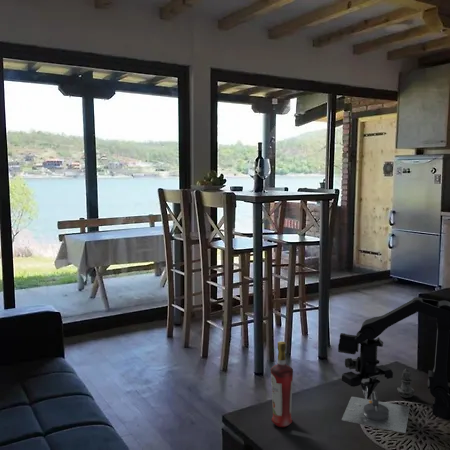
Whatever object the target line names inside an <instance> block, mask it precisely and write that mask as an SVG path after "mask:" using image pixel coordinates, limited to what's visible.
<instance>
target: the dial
mask: <svg viewBox="0 0 450 450" xmlns="http://www.w3.org/2000/svg"><path fill="white" fill-rule="evenodd" d="M370 400H371V402H372V403H370V404H366V405H365V406H364V415H365V416H366V417H367V418H369V419H371V420H375V421H383V420H386V419H388V417H389V410H388V408H387V407H385V406H383V405H381V404H378V401H379V398H378V393H377V390H373V392H372V393H371V395H370Z"/></svg>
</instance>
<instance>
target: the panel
mask: <svg viewBox="0 0 450 450" xmlns="http://www.w3.org/2000/svg"><path fill="white" fill-rule="evenodd" d="M370 403H372V402H371V399H369V398H368V399H366V398H362V397H357V396H351V397H350V399H349V401H348V404H347V406H346V408H345V411H344V413H343V415H342V418H341V421H343V422H349V423H354V424H359V425H364V426H369V427H372V428H373V427H374V428H379V429H383V430H388V431H392V432H393V431H394V432H397V433H402V434H403V433H404V434H407V426H408V422H409V421H408V420H409V415H410V409H411V407H410V406H406V405H401V404H397V403H396V404H395V403H390V402H384V401H379V400H378V404H381V405H383V406H385V407H387V408H388V410H389V417H388V419H386V420H383V421H375V420H371V419H369V418H367V417H366V416H365V415H364V406H365V405H366V404H370Z"/></svg>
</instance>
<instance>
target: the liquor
mask: <svg viewBox="0 0 450 450" xmlns="http://www.w3.org/2000/svg"><path fill="white" fill-rule="evenodd" d="M286 344H287V342H285V341H283V340H282V341H281V340H280V341H277V351H278V352H277V361H276V364H274V365H273V366H272V367H270V383H271V385H270V387H271V400H272V401H271V402H272V417H271V422H272V423H273V424H274V425H275V426H276V427H277V428H287V427H289V425H290V424H292V423H293V418H292V399H293V397H292V396H293V380H294V369H293V368H292V367H291V366H290V365H288V364H287V359H286V347H287V345H286Z"/></svg>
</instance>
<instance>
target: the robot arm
mask: <svg viewBox="0 0 450 450" xmlns="http://www.w3.org/2000/svg"><path fill="white" fill-rule="evenodd" d="M416 313H422V314H424V315H426V316H429V317H433V318H436V327H437V328H436V329H437V330H436V343H435V344H436V345H435V356H434V367H433V368H432V370H430V369H429V370H428V371H427V372H428V379H427V389H428V390H429V392H430V395H431V396H432V397H433V398H434V400H433V401H432V415H434V416H436V417H438V418H441V419H444V420H450V385H449V382H448V374H447V373H448V372H447V368H448V358H449V347H450V346H449V345H450V301H448V300H445V299H444V300H435V299H430V298H423V297H419V296H416V297H413V298H412V299H411V300H409V301H408V302H406V303H403V304H402V305H400V306H398V307H396V308H394V309H392V310H390V311H389V312H387V313H385V314H383V315H380V316H379V315H378V316H373V317H372V318H368V319H365V320H364V321H363V322H362V325H361V327H360V329H359V330H358V331H357V332H356V335H355V334H349V333H348V334H347V333H343V332H342V333H340V335H339V340H338V344H337V350H338V353H341V354H347V355H356V354H357V353H359V356H357V357H356V358H351V357H348V358H345V359H344V366H345V368H346V369H347V368H348V369H349V370H355V372H357V373H355V372H353V371H347V372H343V373H342V375H341V381H342V382H343V383H345V384H347V385H348V386H350V387H353V388H354V387H355V388H356V387H358V386H360V387H361V391H362V393H363V396H364V399H369V398H371V393H372V392H373V391H375V389H376V388H377V386H378V384H380V383H381V380H380V379H378V377H379V376H383V375H384V378H385V379H386V380H388V379H393V377H394V372H393V370H392V369H391V368H389V367H387V366H385V365H383V364H381V365H380V360H379V359H378V347H381V348H382V347H383V346H384V341H383V340H381V338H380V337H379V336H380V335H381V334H382V333H384V332H385V331H386V330H387V329H388V328H389V327H391V326H393V325H395V324H397V323H399V322H401V321H403V320H406V318H409V317H411V316H412V315H415V314H416ZM359 350H360V351H359ZM378 364H379V365H378Z"/></svg>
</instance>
